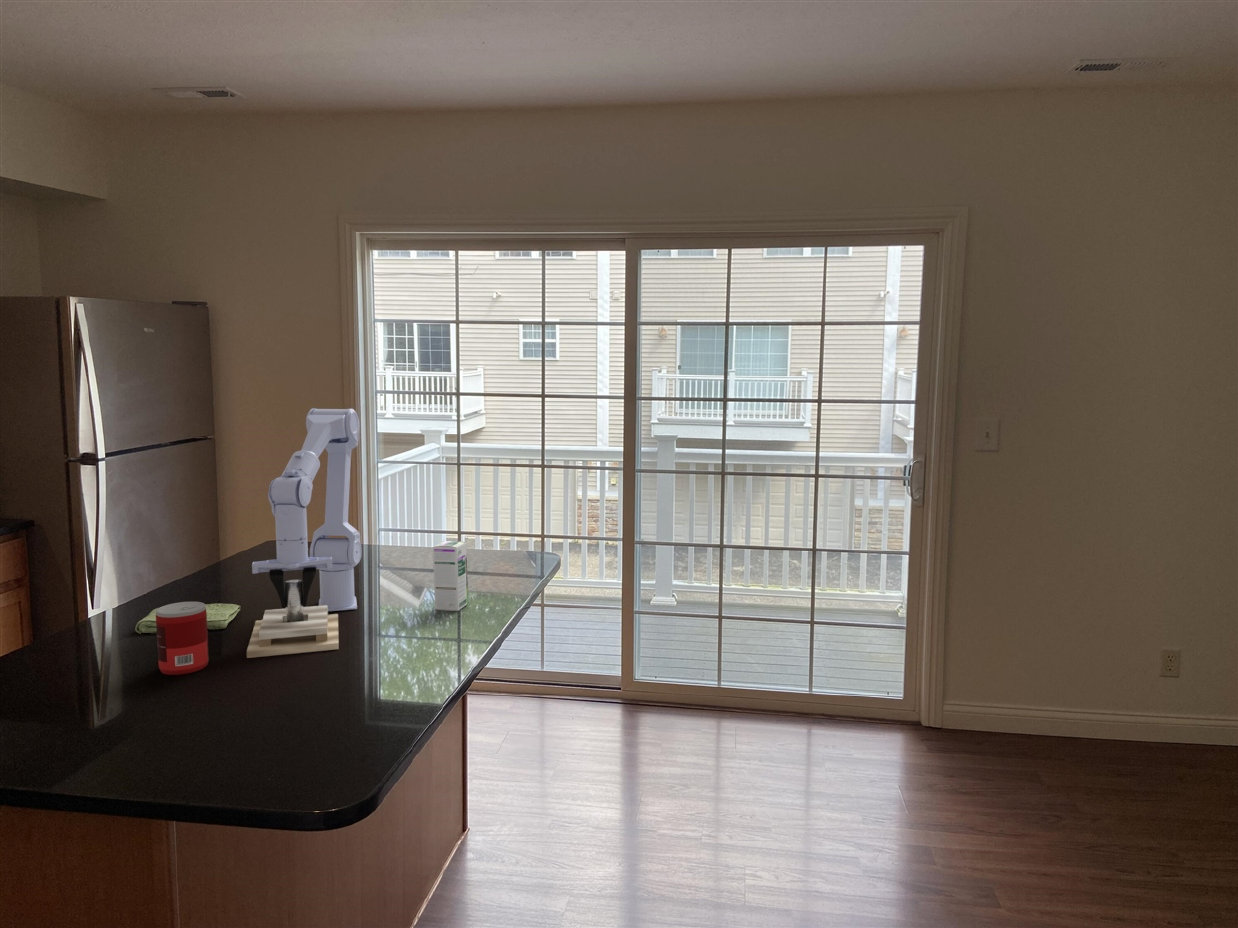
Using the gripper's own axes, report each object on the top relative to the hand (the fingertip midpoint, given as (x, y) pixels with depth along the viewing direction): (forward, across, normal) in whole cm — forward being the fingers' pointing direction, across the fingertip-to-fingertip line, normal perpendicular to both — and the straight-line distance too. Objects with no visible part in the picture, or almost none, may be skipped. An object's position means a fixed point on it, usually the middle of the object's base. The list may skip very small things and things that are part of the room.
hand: (294, 606), depth 165 cm
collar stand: (+6, 0, 0) cm, 6 cm away
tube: (+3, 0, 0) cm, 3 cm away
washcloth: (+7, -21, +17) cm, 28 cm away
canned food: (+7, -18, -12) cm, 23 cm away
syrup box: (+6, +32, +12) cm, 35 cm away
